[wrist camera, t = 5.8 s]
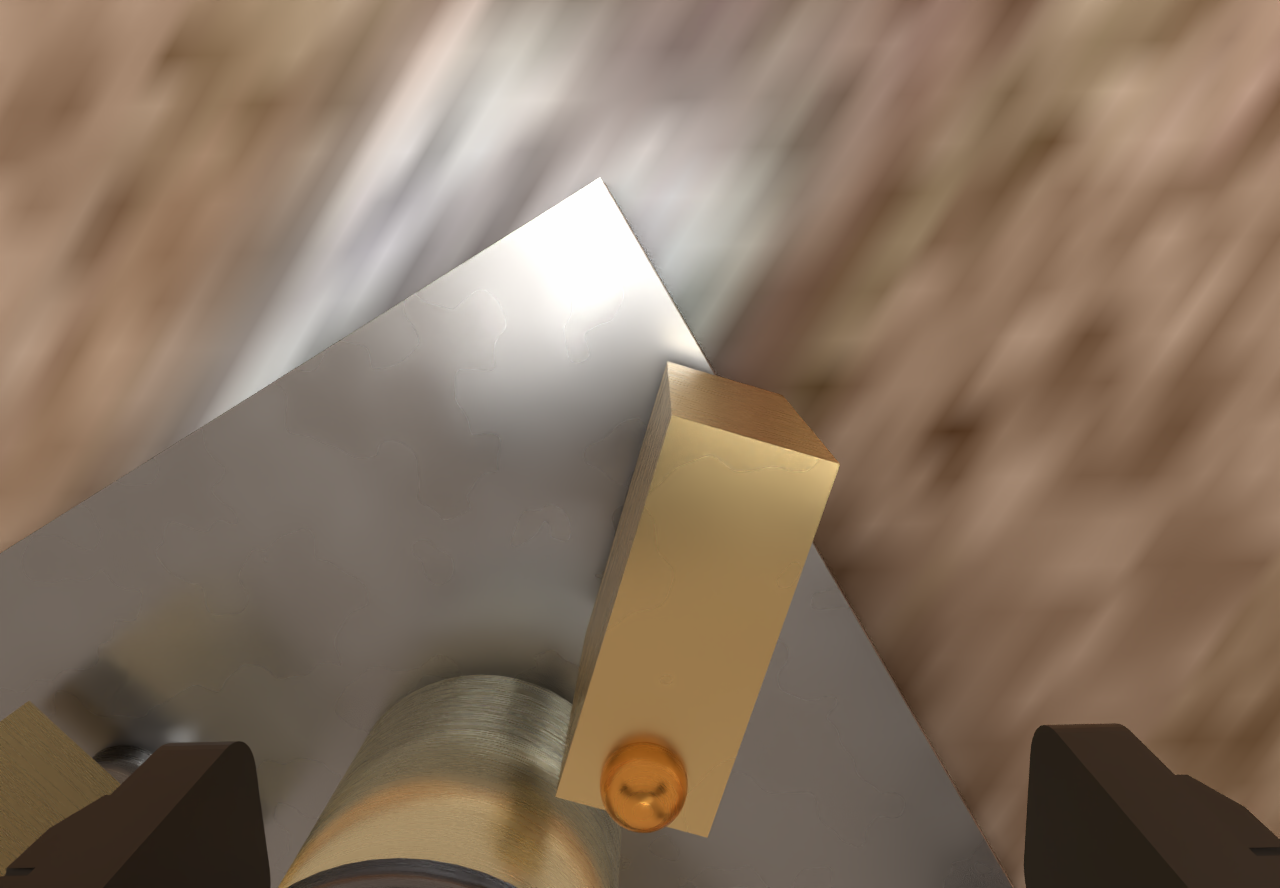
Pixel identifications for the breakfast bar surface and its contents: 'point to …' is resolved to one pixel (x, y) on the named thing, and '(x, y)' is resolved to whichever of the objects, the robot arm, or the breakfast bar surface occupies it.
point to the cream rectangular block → (50, 778)
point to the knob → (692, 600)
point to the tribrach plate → (457, 607)
